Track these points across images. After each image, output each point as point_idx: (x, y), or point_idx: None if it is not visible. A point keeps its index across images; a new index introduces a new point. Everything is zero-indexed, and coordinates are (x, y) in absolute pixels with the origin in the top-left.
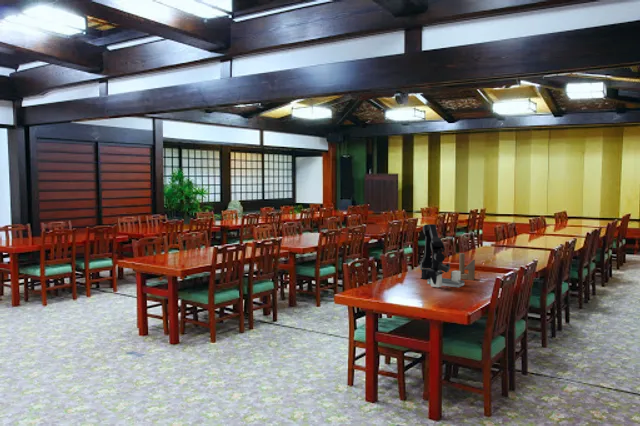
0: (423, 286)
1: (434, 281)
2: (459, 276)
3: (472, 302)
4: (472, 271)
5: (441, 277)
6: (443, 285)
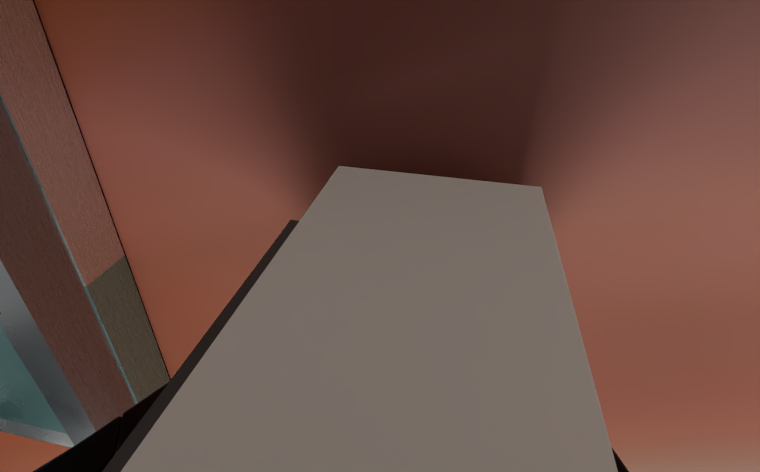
0: None
1: None
2: None
3: None
4: None
5: (223, 425)
6: (96, 182)
